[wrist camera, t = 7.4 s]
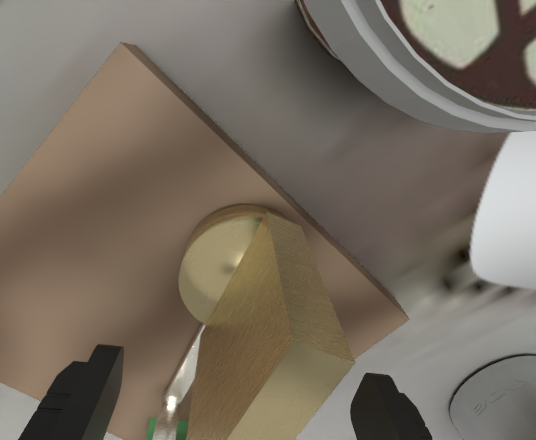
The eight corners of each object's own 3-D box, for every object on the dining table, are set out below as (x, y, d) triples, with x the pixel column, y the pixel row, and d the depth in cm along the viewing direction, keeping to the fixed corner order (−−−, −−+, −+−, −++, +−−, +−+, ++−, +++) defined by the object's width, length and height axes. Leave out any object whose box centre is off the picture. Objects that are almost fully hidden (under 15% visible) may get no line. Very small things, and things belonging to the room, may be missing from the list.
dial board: (395, 297, 21) (423, 339, 18) (198, 444, 26) (193, 498, 23) (135, 45, 14) (105, 38, 11) (-73, 307, 19) (-138, 358, 16)
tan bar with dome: (218, 174, 15) (194, 310, 6) (332, 225, 16) (430, 386, 8) (120, 390, 20) (36, 620, 11) (214, 413, 21) (200, 631, 13)
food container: (313, 146, 17) (402, 238, 8) (262, 16, 14) (306, -71, 5) (556, 31, 15) (1007, -19, 6) (548, -134, 13) (1274, -602, 4)
